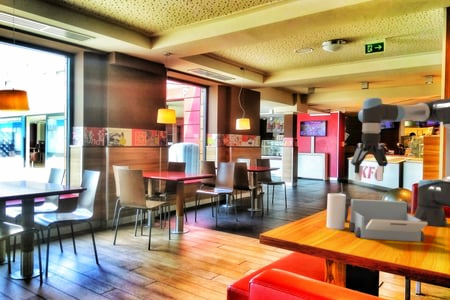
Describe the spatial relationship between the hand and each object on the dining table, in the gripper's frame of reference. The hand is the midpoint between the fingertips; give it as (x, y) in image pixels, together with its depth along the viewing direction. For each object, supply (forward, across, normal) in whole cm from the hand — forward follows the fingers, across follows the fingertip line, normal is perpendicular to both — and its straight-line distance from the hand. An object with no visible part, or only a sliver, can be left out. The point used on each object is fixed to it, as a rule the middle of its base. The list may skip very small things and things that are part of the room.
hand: (369, 180), depth 147 cm
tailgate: (+20, -2, +11) cm, 22 cm away
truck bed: (+24, -7, +2) cm, 25 cm away
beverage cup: (+24, -10, -24) cm, 36 cm away
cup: (+24, +5, -14) cm, 29 cm away
